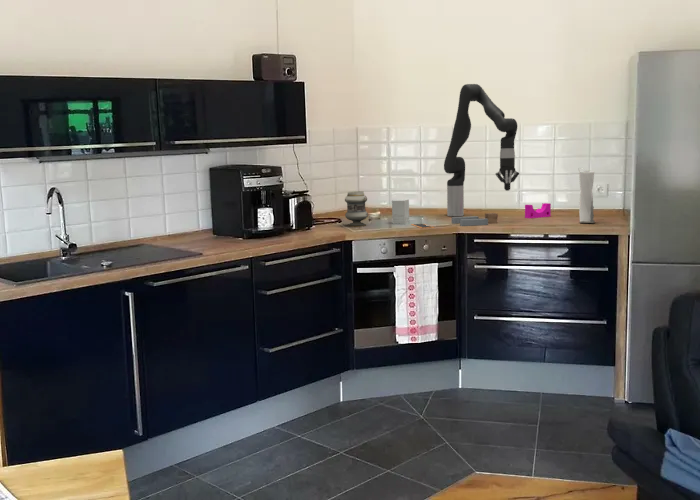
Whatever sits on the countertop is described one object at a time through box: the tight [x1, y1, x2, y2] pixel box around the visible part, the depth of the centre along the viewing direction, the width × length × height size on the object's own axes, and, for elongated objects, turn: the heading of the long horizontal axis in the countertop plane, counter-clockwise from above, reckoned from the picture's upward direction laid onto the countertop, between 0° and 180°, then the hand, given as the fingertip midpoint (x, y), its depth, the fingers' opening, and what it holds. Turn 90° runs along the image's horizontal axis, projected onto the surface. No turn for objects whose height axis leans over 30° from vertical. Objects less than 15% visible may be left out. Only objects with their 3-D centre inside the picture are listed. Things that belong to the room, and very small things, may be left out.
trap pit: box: [410, 223, 436, 229], centre depth 411 cm, size 18×7×1 cm, turn 12°
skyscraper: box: [578, 167, 596, 224], centre depth 411 cm, size 8×8×28 cm
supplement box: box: [391, 198, 410, 225], centre depth 427 cm, size 7×7×13 cm
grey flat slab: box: [450, 215, 489, 227], centre depth 416 cm, size 16×14×3 cm
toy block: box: [524, 202, 552, 219], centre depth 442 cm, size 15×6×8 cm, turn 118°
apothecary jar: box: [344, 190, 369, 228], centre depth 419 cm, size 12×12×18 cm
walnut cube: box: [484, 212, 498, 225], centre depth 419 cm, size 5×5×5 cm
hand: (507, 190), depth 419 cm, fingers closed
